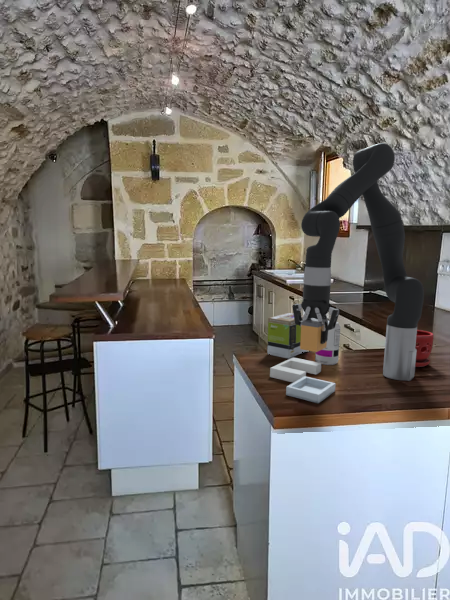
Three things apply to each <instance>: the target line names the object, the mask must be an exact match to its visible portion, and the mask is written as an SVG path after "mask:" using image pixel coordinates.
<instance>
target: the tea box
mask: <svg viewBox="0 0 450 600" xmlns="http://www.w3.org/2000/svg"><path fill="white" fill-rule="evenodd" d="M301 316H302V319H303V316H304V314H301ZM300 341H301V327H300V326H299V325H296V324H295V320H294V314H293V312H286V313H281V314H278V315H274V316H271V317H267V348H266V349H267V351H266V352H267V355H269V354H270V355H271V356H274V357H278V358H282V359H287V360H288V359H291V358H293V357H294V358H295V357H296V356H298V355H300V354H303V353H306V352H309V351H308V350H302V349H300ZM302 352H303V353H302ZM270 355H269V356H270Z"/></svg>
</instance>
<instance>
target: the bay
mask: <svg viewBox="0 0 450 600" xmlns="http://www.w3.org/2000/svg"><path fill="white" fill-rule="evenodd" d="M269 369H270V370H269V377H270V378H274V379H278V380H281V381H285V382H289V383H294V382H295V381H297V380H299V379H301V378H302V377H304V376H306V377H307V373H308V374H311V375H318V374H319V373H321V372H322V364H321V363H318V362H317V361H313V360H307V359H302V358H298V357H295V356H294V357H291V358H289V359H288V358H287V360H284V361H282V362H280V363H278V364H275V365H274V366H272V367H269Z"/></svg>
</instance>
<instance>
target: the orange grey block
mask: <svg viewBox="0 0 450 600" xmlns="http://www.w3.org/2000/svg"><path fill="white" fill-rule="evenodd" d="M327 323H328V321H327ZM321 331H322V329H321V323H319V321H318V319H315V318H311V319H310V320H307V321H302V323H301V341H300V349H302V350H308V351H307V352H313V353H316V352H318V351H320V350H322V349H324V348H326V346H327V341H326V342H325V343H324V344H321V343H320V341H321Z"/></svg>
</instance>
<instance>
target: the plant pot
mask: <svg viewBox="0 0 450 600" xmlns="http://www.w3.org/2000/svg"><path fill="white" fill-rule="evenodd" d="M433 344H434V333H433V332H430V331H427V330H422V329H417V334H416V345H415V349H417V352H416V363H415V368H420V367H421V368H422V367H425V366H428V365H429V364H430V363H431V359H429V357H430V355H431V353H432V350H433Z"/></svg>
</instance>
